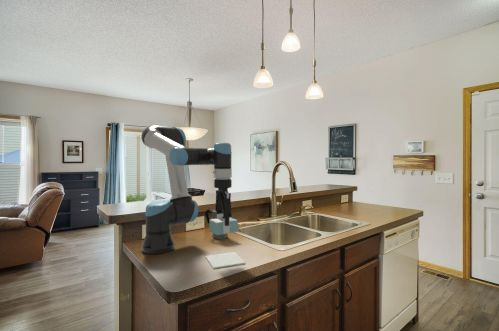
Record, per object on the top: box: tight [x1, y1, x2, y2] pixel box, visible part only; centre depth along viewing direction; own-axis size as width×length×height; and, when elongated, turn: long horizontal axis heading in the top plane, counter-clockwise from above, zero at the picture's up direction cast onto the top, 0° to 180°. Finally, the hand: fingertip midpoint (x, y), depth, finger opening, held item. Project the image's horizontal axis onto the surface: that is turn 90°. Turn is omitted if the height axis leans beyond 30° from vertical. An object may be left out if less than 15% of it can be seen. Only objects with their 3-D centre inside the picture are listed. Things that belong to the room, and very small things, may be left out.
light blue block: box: [208, 217, 239, 235], centre depth 116 cm, size 10×8×5 cm
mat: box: [205, 251, 246, 270], centre depth 117 cm, size 14×14×1 cm
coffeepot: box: [204, 208, 229, 240], centre depth 153 cm, size 15×9×18 cm, turn 82°
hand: (223, 230), depth 116 cm, fingers closed on light blue block, 8 cm apart
